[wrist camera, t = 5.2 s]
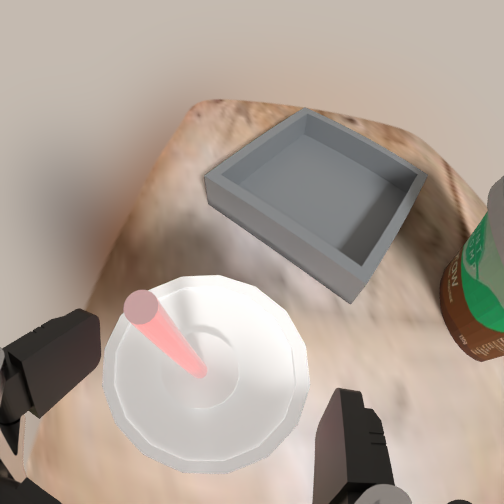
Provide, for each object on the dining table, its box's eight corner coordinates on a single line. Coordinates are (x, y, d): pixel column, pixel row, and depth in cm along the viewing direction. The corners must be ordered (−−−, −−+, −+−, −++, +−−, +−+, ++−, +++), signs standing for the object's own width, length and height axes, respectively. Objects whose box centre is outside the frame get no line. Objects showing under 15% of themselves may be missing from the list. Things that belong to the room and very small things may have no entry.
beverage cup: (284, 351, 17) (369, 165, 5) (271, 452, 14) (359, 563, 2) (182, 335, 17) (66, 146, 5) (163, 433, 14) (-46, 429, 2)
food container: (430, 222, 22) (486, 133, 14) (482, 247, 21) (544, 172, 13) (414, 362, 16) (524, 299, 8) (478, 381, 15) (584, 332, 6)
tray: (414, 198, 24) (428, 174, 21) (350, 304, 18) (366, 284, 16) (301, 132, 28) (304, 107, 25) (208, 204, 23) (204, 175, 20)
